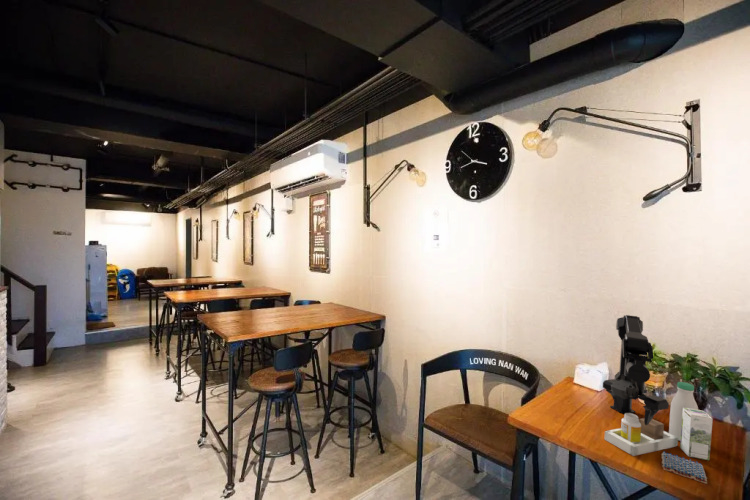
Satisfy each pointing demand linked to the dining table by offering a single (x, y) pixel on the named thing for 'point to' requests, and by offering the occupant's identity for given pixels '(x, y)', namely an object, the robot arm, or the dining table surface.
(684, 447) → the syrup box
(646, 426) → the walnut block
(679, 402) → the milk bottle
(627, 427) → the supplement bottle
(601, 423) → the dining table surface
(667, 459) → the woven mat
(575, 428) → the dining table surface
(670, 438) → the grey divided tray
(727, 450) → the dining table surface
